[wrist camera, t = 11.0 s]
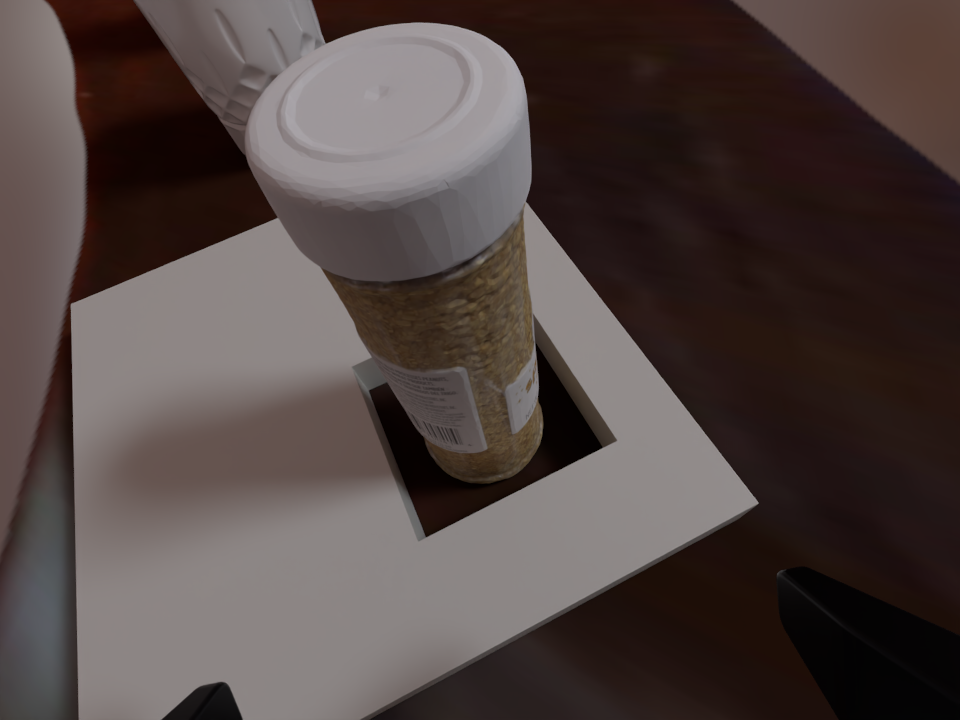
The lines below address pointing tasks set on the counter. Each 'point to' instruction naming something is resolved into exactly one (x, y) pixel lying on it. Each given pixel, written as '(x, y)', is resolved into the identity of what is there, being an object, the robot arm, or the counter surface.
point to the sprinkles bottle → (418, 224)
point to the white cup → (234, 48)
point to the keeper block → (336, 493)
